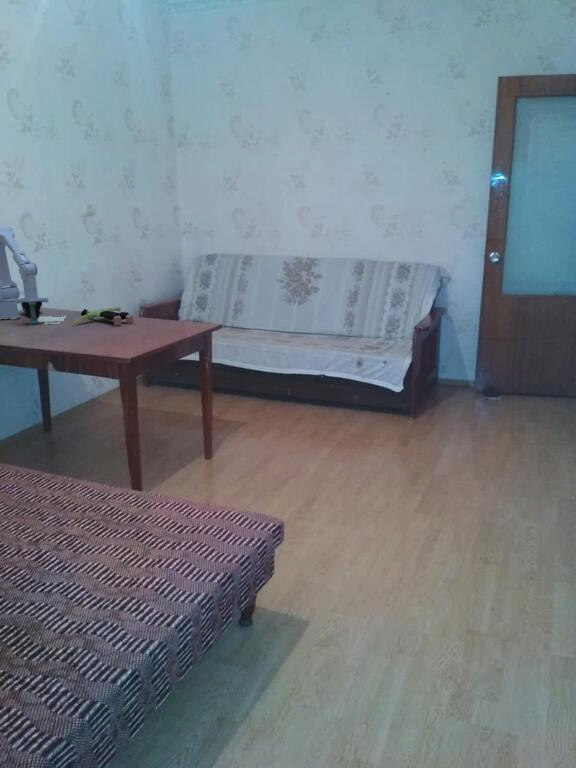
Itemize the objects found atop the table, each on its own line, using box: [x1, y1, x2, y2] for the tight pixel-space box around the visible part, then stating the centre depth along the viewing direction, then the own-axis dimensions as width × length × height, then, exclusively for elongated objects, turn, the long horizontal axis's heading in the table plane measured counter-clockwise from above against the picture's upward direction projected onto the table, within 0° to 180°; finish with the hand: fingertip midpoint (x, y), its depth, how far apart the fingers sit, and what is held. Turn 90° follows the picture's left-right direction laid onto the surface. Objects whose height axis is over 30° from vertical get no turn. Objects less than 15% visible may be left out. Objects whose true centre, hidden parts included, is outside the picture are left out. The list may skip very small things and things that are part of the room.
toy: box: [71, 306, 134, 327], centre depth 302 cm, size 32×7×30 cm
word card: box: [43, 321, 61, 326], centre depth 298 cm, size 7×5×1 cm
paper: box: [38, 315, 67, 323], centre depth 307 cm, size 14×13×1 cm
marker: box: [29, 304, 39, 325], centre depth 295 cm, size 3×3×10 cm
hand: (33, 318), depth 296 cm, fingers closed on marker, 3 cm apart
